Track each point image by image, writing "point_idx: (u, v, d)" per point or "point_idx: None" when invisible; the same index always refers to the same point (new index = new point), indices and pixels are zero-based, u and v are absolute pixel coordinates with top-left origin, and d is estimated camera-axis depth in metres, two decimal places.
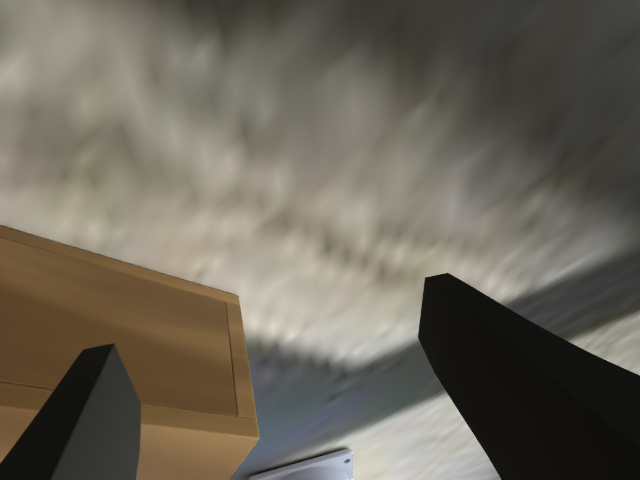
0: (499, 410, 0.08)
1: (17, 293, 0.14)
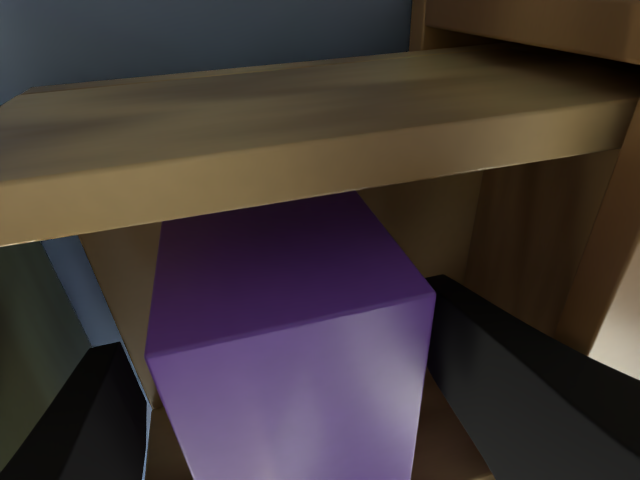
0: (494, 411, 0.08)
1: None
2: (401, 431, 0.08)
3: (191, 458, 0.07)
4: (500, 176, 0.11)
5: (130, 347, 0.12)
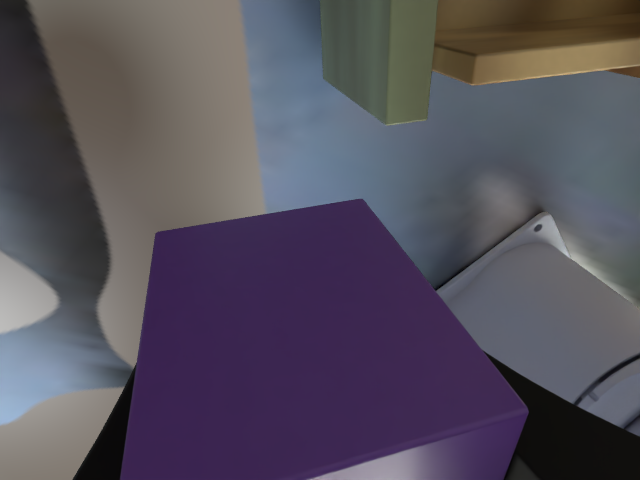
0: None
1: None
2: None
3: None
4: None
5: None
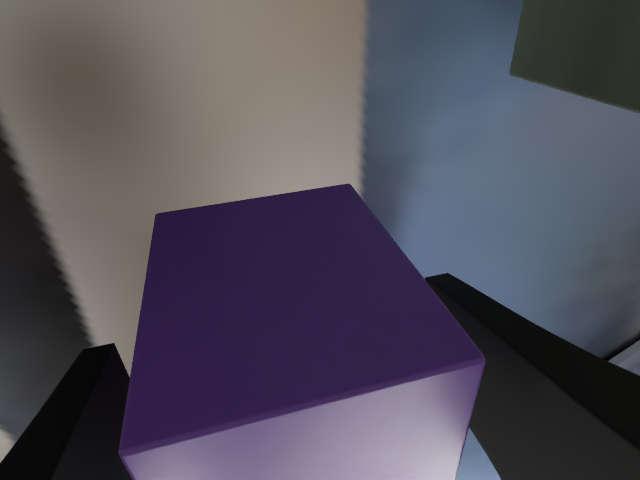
0: (499, 410, 0.08)
1: None
2: None
3: None
4: None
5: None
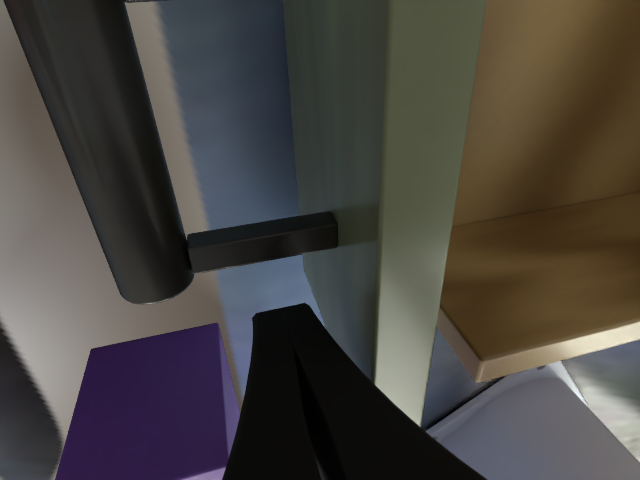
0: (323, 461, 0.07)
1: None
2: None
3: None
4: None
5: None
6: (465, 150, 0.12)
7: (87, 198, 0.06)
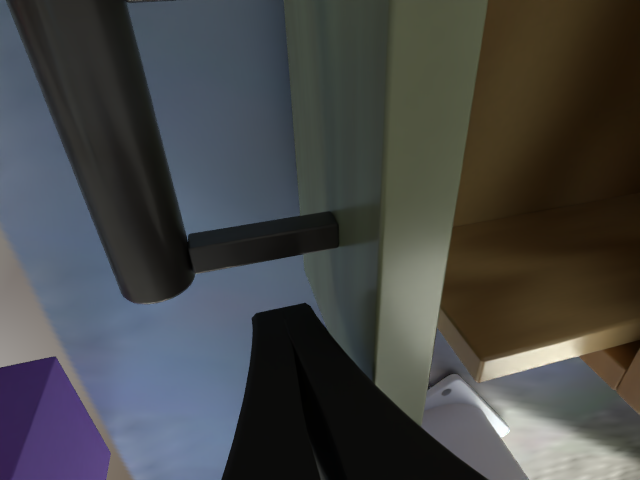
0: (324, 460, 0.07)
1: None
2: None
3: None
4: None
5: None
6: (465, 150, 0.12)
7: (89, 198, 0.06)
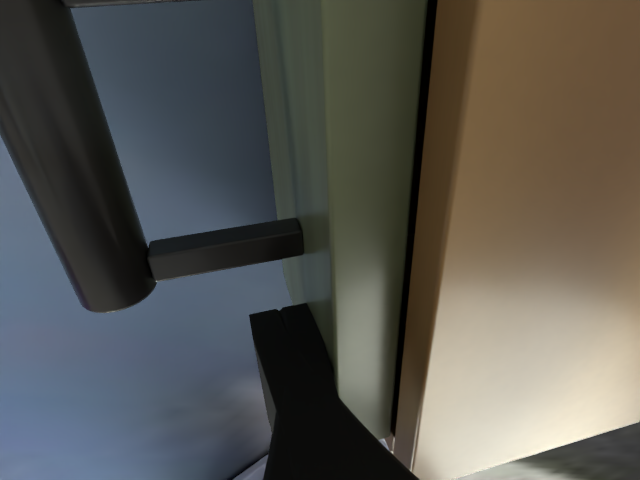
0: None
1: None
2: None
3: None
4: None
5: None
6: None
7: (38, 206, 0.06)
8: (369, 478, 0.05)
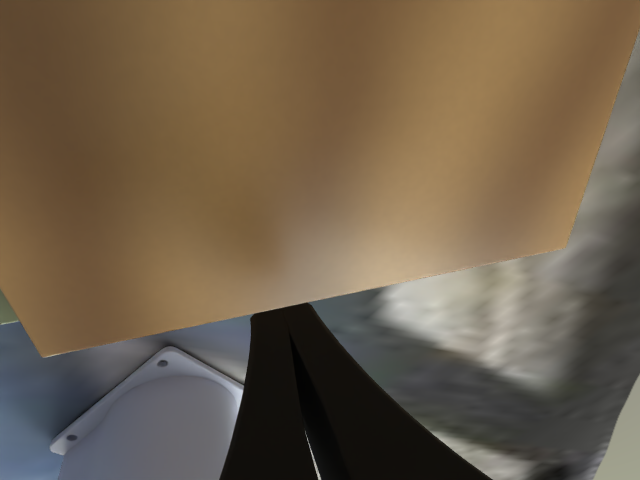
0: (326, 460, 0.07)
1: None
2: None
3: None
4: None
5: None
6: None
7: None
8: None
